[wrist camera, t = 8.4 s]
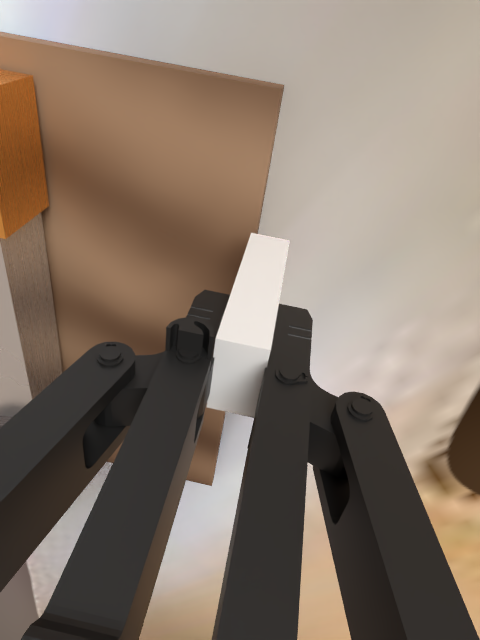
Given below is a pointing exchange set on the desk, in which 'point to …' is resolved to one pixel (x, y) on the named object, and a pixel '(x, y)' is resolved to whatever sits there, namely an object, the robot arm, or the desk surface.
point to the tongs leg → (23, 253)
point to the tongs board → (144, 193)
